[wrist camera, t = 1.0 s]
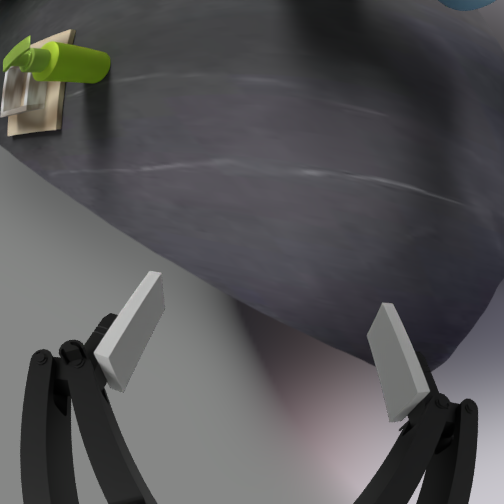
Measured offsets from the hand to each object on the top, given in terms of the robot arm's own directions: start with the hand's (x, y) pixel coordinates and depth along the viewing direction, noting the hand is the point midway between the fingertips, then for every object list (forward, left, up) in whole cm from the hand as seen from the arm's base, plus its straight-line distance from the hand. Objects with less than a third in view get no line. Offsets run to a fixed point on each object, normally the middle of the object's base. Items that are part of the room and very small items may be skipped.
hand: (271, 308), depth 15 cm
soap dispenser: (-18, -32, -27) cm, 46 cm away
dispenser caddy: (-17, -49, -27) cm, 59 cm away
